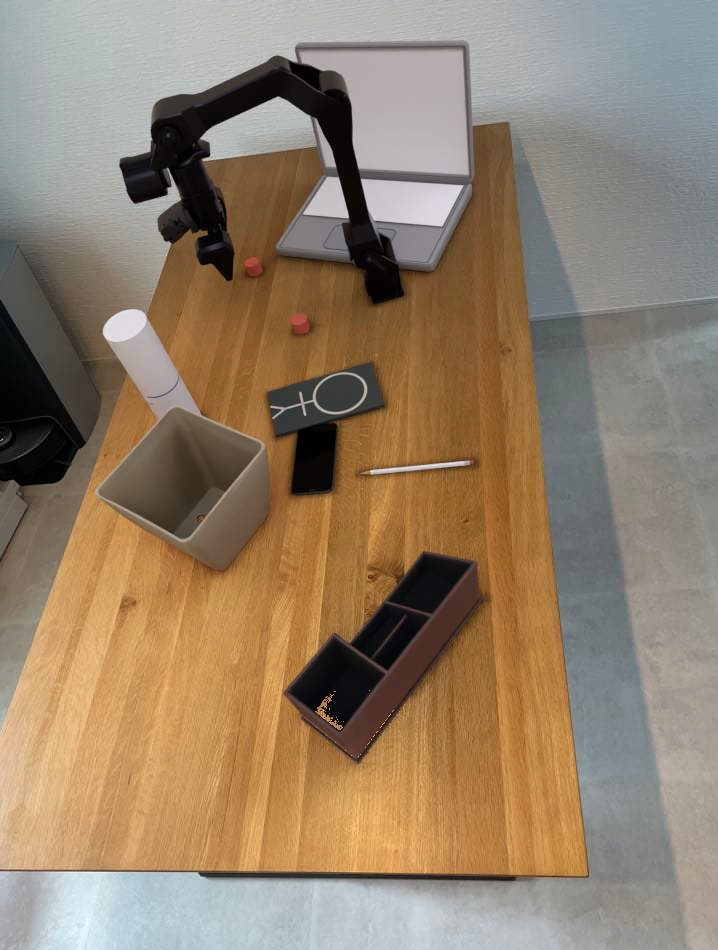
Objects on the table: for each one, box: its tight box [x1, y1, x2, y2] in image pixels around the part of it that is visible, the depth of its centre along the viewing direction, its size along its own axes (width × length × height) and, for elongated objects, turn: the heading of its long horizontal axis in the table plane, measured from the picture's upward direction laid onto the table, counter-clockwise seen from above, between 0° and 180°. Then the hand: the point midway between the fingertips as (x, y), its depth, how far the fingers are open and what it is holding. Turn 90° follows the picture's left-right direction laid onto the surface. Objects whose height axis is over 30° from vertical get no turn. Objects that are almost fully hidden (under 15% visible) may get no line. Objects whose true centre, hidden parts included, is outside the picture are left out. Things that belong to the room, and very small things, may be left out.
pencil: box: [360, 459, 475, 476], centre depth 112 cm, size 1×19×1 cm, turn 89°
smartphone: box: [290, 422, 339, 497], centre depth 117 cm, size 7×1×15 cm
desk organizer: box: [283, 550, 486, 766], centre depth 91 cm, size 10×29×11 cm, turn 141°
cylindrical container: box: [102, 308, 202, 421], centre depth 116 cm, size 7×7×25 cm
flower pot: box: [94, 405, 271, 572], centre depth 106 cm, size 19×19×17 cm
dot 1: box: [244, 256, 263, 278], centre depth 146 cm, size 3×3×2 cm
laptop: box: [275, 39, 475, 273], centre depth 135 cm, size 36×28×29 cm
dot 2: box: [290, 313, 311, 335], centre depth 134 cm, size 3×3×2 cm
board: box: [266, 361, 386, 439], centre depth 123 cm, size 20×11×1 cm, turn 101°
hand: (227, 265), depth 126 cm, fingers open, 9 cm apart
